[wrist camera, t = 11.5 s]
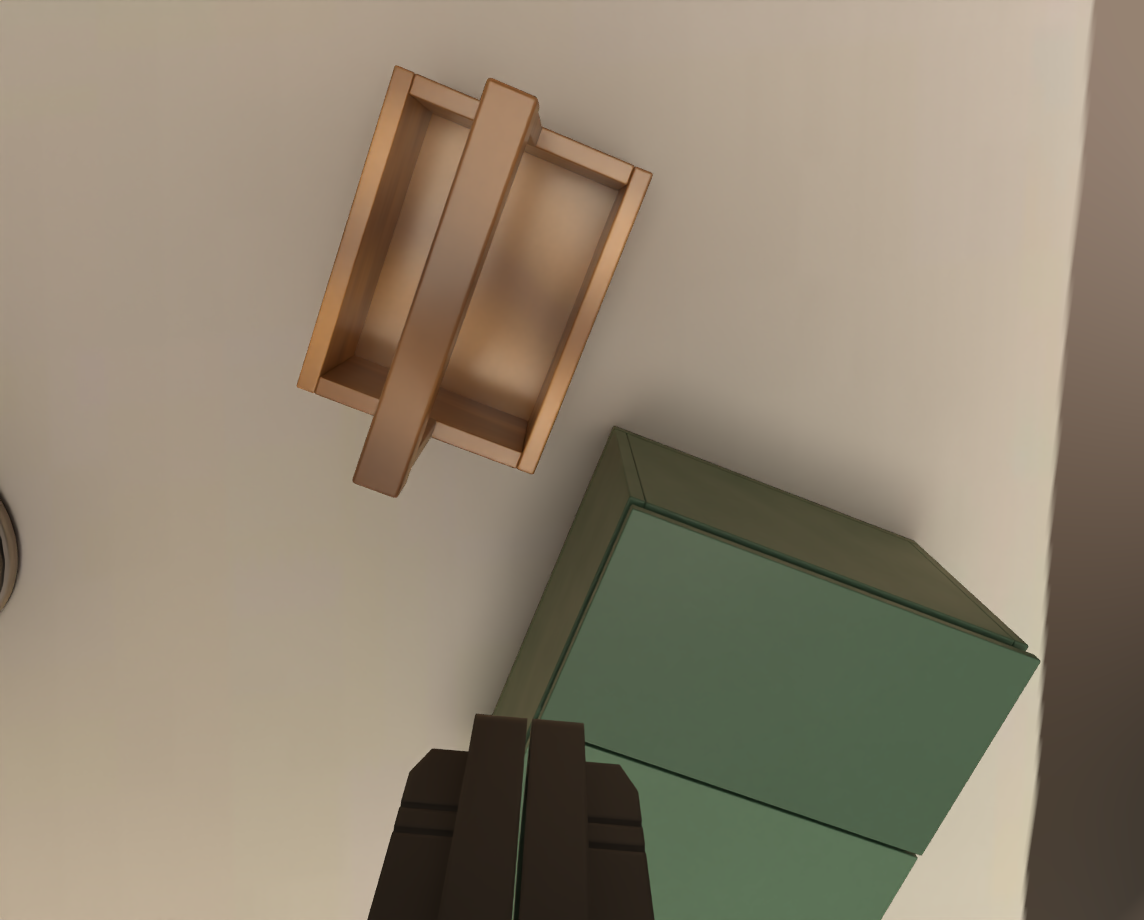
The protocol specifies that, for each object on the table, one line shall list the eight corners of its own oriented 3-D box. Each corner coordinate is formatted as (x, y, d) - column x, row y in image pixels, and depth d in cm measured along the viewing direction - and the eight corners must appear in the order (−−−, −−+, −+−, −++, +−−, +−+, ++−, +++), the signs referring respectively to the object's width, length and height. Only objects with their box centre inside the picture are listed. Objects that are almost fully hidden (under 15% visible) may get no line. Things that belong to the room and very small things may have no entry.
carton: (755, 834, 37) (816, 1030, 28) (480, 742, 35) (451, 918, 26) (915, 541, 33) (1044, 659, 24) (613, 425, 32) (631, 504, 23)
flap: (812, 1018, 28) (816, 1028, 28) (455, 906, 27) (453, 916, 26) (913, 849, 26) (918, 858, 26) (536, 720, 25) (535, 728, 25)
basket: (538, 437, 32) (524, 546, 21) (337, 361, 31) (217, 434, 20) (639, 181, 29) (681, 158, 19) (423, 91, 28) (337, 11, 18)
